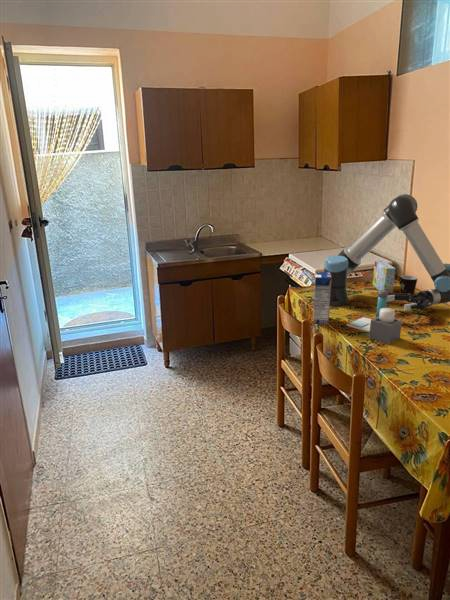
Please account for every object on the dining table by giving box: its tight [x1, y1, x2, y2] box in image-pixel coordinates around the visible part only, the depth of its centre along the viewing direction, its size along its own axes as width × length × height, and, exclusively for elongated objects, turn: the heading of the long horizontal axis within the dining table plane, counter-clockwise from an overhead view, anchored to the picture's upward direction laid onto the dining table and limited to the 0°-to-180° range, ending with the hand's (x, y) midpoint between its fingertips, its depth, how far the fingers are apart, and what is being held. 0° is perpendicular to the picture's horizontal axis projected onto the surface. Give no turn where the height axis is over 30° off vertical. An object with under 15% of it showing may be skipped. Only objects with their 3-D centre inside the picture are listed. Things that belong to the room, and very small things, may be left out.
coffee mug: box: [398, 274, 419, 295], centre depth 245 cm, size 12×9×10 cm
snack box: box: [371, 259, 397, 296], centre depth 254 cm, size 21×6×15 cm, turn 179°
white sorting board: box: [346, 316, 373, 334], centre depth 202 cm, size 14×14×1 cm
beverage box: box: [312, 271, 331, 326], centre depth 205 cm, size 7×11×22 cm, turn 169°
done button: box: [379, 307, 396, 324], centre depth 185 cm, size 6×6×5 cm
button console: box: [368, 316, 403, 345], centre depth 187 cm, size 9×9×8 cm
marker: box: [375, 290, 389, 318], centre depth 208 cm, size 4×4×13 cm
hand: (393, 303), depth 210 cm, fingers open, 13 cm apart
